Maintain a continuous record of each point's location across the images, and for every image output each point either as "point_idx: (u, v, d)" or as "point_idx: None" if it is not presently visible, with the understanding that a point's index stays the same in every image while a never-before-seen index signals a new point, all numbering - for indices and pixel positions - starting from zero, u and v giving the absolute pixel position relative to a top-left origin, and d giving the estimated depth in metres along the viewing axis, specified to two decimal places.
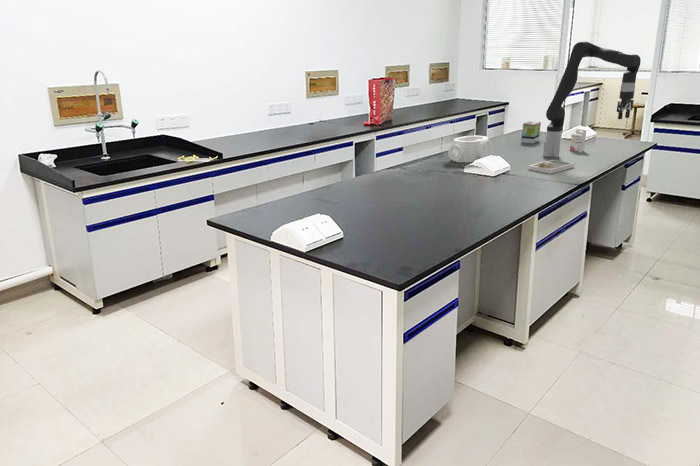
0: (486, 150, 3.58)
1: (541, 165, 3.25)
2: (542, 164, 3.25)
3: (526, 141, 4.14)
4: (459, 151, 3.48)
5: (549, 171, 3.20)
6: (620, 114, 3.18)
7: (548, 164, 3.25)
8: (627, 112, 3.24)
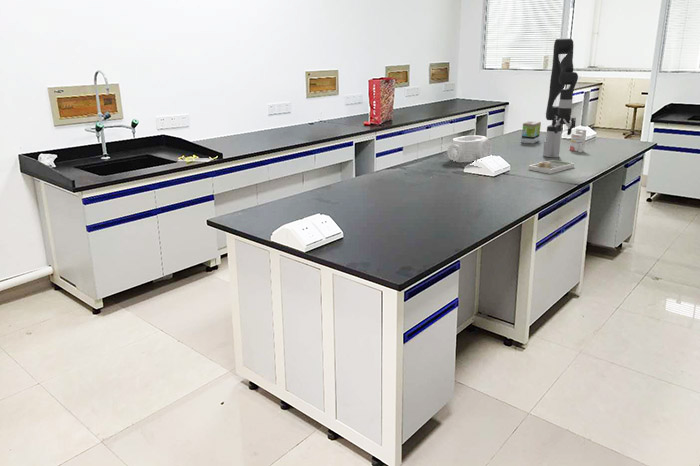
0: (485, 150, 3.58)
1: (541, 165, 3.25)
2: (542, 164, 3.25)
3: (526, 141, 4.14)
4: (458, 151, 3.49)
5: (549, 171, 3.20)
6: None
7: (548, 164, 3.25)
8: (557, 128, 3.32)
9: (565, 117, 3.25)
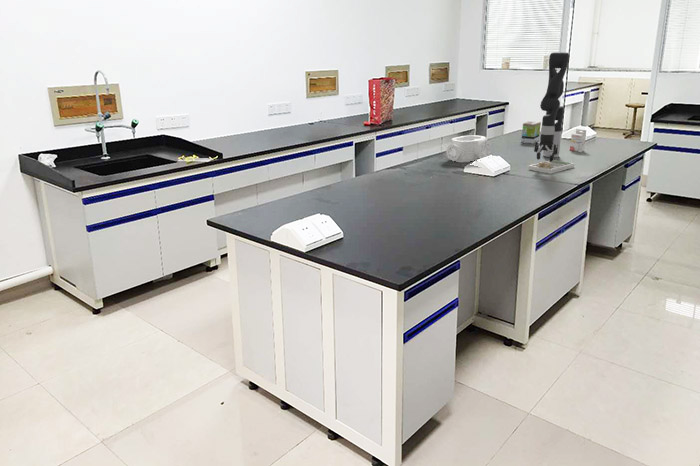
0: (484, 150, 3.59)
1: (541, 165, 3.25)
2: (542, 164, 3.25)
3: (526, 141, 4.14)
4: (457, 151, 3.50)
5: (549, 171, 3.20)
6: (553, 156, 3.21)
7: (548, 164, 3.25)
8: (539, 154, 3.27)
9: (547, 143, 3.20)
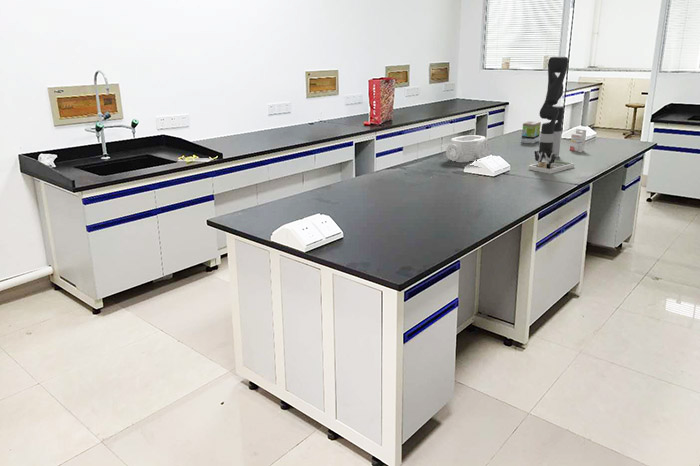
0: (484, 150, 3.59)
1: (541, 165, 3.25)
2: (542, 164, 3.25)
3: (526, 141, 4.14)
4: (457, 151, 3.50)
5: (549, 171, 3.20)
6: (550, 165, 3.24)
7: None
8: None
9: (546, 151, 3.22)
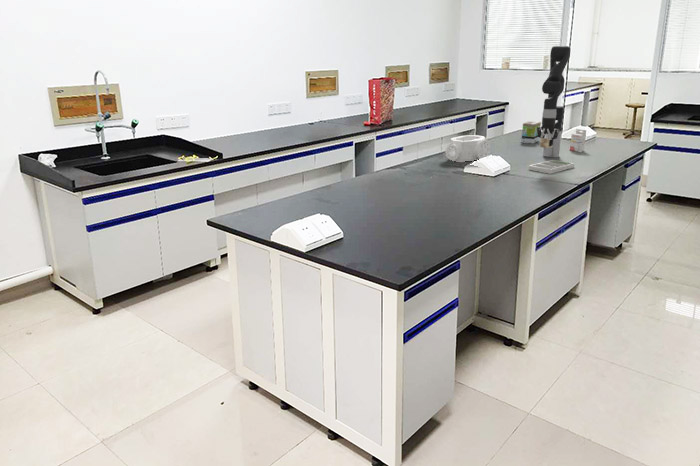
0: (483, 150, 3.59)
1: (544, 141, 3.21)
2: (544, 140, 3.20)
3: (526, 141, 4.14)
4: (456, 151, 3.50)
5: (549, 171, 3.20)
6: (553, 141, 3.19)
7: None
8: None
9: (549, 127, 3.17)
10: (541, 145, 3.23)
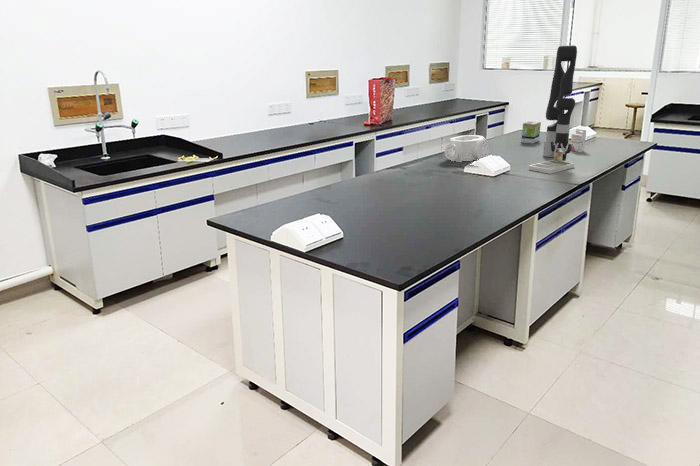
0: (482, 149, 3.60)
1: (557, 155, 3.33)
2: (558, 154, 3.32)
3: (526, 141, 4.14)
4: (455, 150, 3.50)
5: (549, 171, 3.20)
6: (566, 155, 3.32)
7: None
8: None
9: (562, 142, 3.30)
10: (555, 159, 3.35)
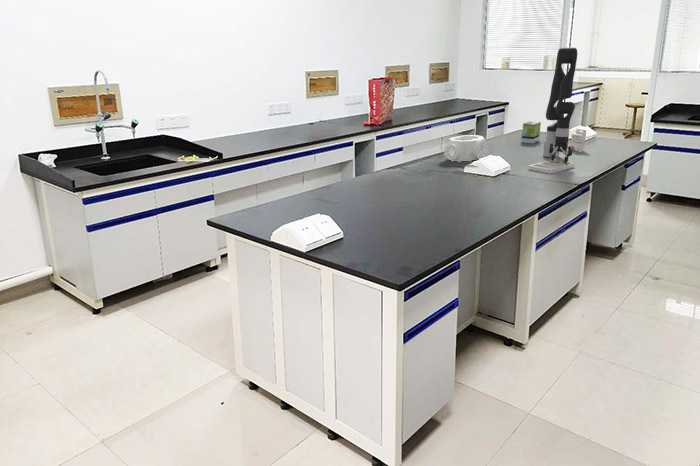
0: (482, 149, 3.60)
1: (557, 161, 3.34)
2: (557, 160, 3.34)
3: (526, 141, 4.14)
4: (455, 150, 3.51)
5: (549, 171, 3.20)
6: None
7: (563, 160, 3.34)
8: (554, 155, 3.38)
9: (562, 145, 3.30)
10: None
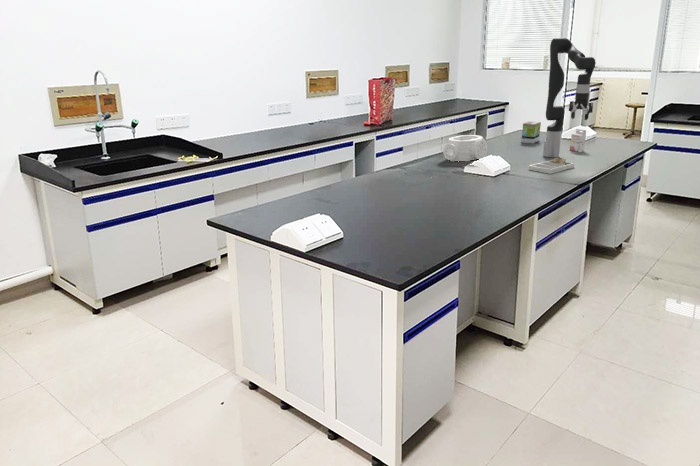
0: (481, 149, 3.61)
1: (557, 161, 3.34)
2: (557, 160, 3.34)
3: (526, 141, 4.14)
4: (454, 150, 3.51)
5: (549, 171, 3.20)
6: (588, 115, 3.27)
7: (563, 160, 3.34)
8: (573, 113, 3.34)
9: (582, 102, 3.27)
10: None
